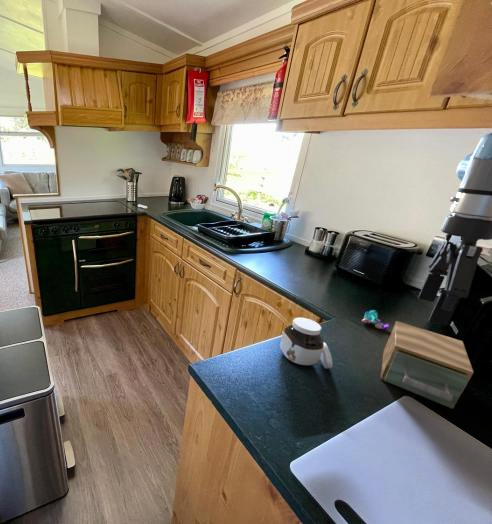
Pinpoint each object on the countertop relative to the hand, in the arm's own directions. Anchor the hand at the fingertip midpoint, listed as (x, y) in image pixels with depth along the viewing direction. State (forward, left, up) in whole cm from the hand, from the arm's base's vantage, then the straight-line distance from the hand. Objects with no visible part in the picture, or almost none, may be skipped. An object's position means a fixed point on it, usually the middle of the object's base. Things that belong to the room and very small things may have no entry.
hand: (430, 310), depth 65 cm
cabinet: (-4, -12, -23) cm, 27 cm away
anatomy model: (+7, -37, -24) cm, 44 cm away
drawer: (-4, -6, -22) cm, 24 cm away
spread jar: (+20, +3, -24) cm, 31 cm away
